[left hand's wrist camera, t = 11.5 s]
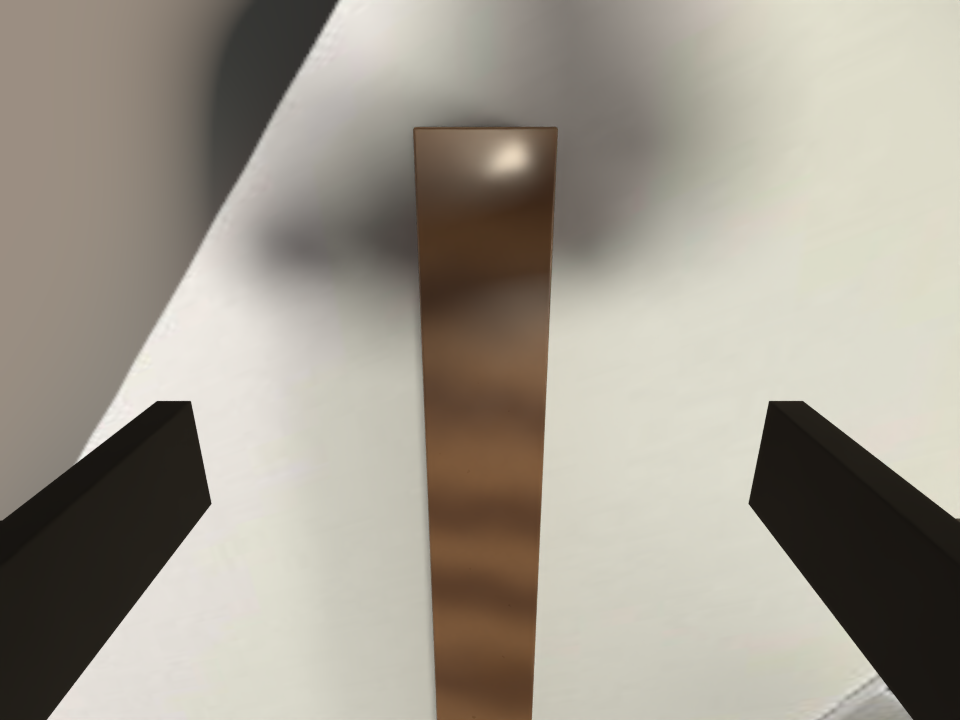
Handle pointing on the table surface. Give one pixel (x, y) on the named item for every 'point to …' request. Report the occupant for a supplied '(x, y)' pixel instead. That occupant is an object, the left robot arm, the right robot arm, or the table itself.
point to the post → (484, 402)
